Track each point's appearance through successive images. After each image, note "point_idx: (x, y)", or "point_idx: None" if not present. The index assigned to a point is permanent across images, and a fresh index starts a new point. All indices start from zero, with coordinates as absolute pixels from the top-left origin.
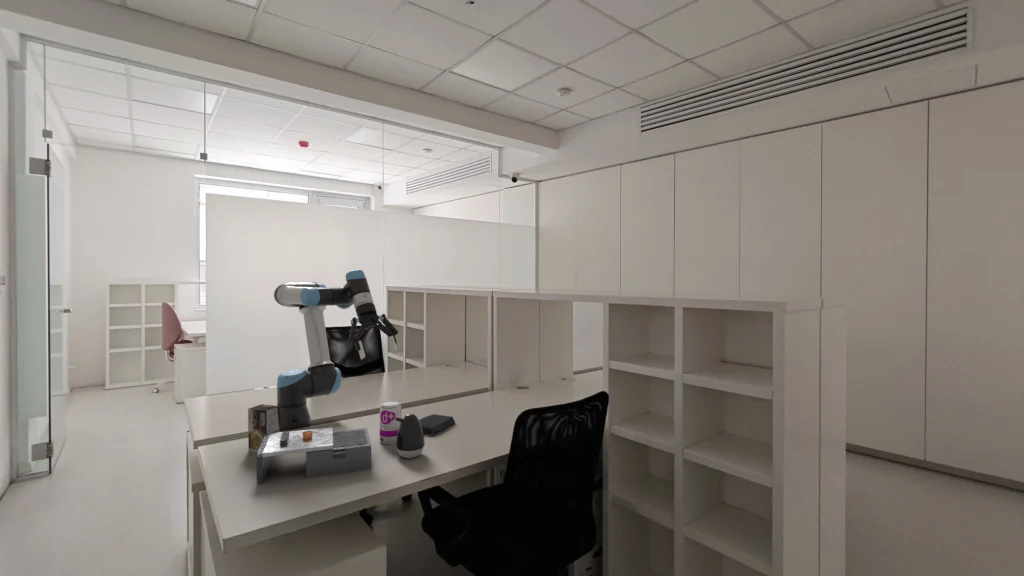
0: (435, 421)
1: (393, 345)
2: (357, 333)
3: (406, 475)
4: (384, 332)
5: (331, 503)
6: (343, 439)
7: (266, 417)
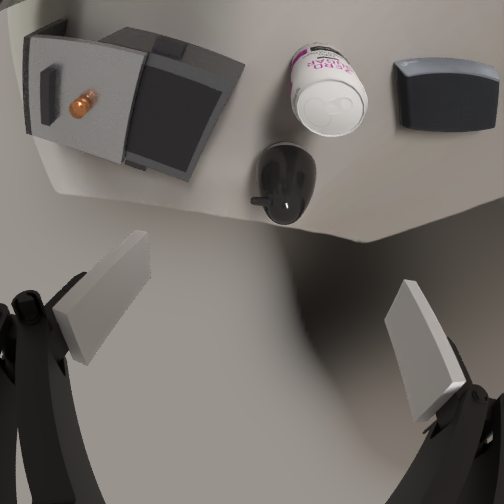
0: (451, 114)
1: (401, 346)
2: (25, 420)
3: (231, 201)
4: (435, 460)
5: (128, 197)
6: (152, 124)
7: (7, 7)
